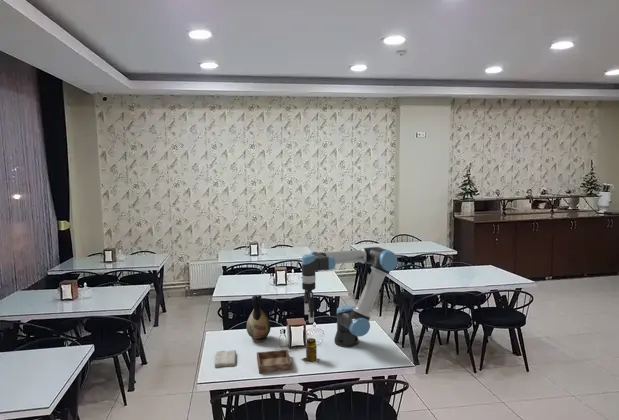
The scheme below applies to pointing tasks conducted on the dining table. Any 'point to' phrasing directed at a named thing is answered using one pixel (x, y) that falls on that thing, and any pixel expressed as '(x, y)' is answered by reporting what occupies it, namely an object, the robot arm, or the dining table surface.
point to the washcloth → (225, 358)
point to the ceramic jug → (258, 322)
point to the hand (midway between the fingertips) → (309, 318)
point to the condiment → (310, 351)
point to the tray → (274, 361)
